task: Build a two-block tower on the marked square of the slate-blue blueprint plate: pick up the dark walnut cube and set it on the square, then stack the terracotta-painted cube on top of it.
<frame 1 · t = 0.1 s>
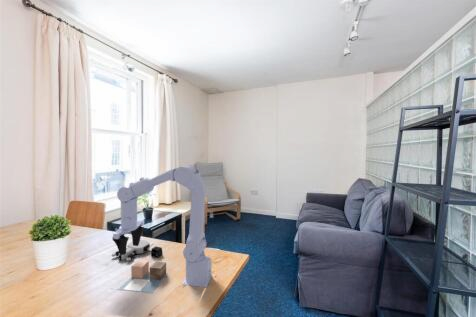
hand: (129, 249, 84), 10 cm above the table, tool pointing down, fingers open, 7 cm apart
robot toy: (133, 255, 101), on the table
walnut block: (158, 276, 83), resting on blueprint plate
blueprint plate: (144, 282, 80), on the table
terracotta block: (140, 274, 84), resting on blueprint plate
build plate: (156, 258, 99), on the table
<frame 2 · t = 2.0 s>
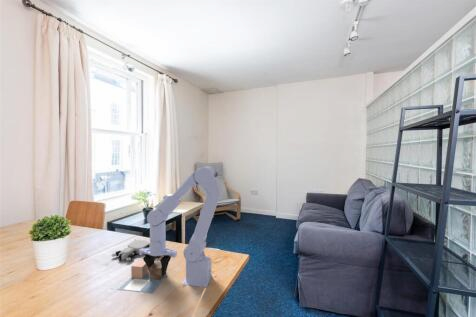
hand: (158, 273, 83), 2 cm above the table, tool pointing down, fingers closed on walnut block, 4 cm apart
walnut block: (158, 276, 83), resting on blueprint plate, touching gripper
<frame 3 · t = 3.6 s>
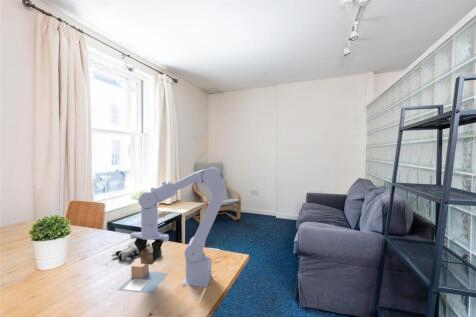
hand: (149, 258, 80), 9 cm above the table, tool pointing down, fingers closed on walnut block, 4 cm apart
walnut block: (149, 261, 80), point 8 cm above the table, touching gripper
when the fingers open (3 cm above the table, at t = 5.4 s): walnut block drops 1 cm, resting on blueprint plate.
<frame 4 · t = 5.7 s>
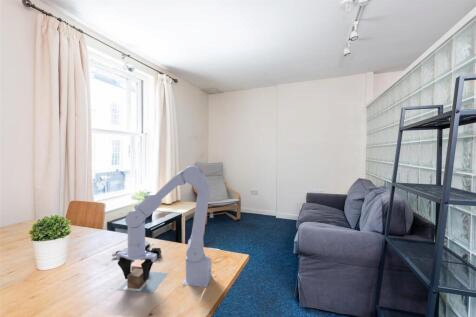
hand: (136, 278, 77), 3 cm above the table, tool pointing down, fingers open, 7 cm apart
walnut block: (137, 284, 77), point 1 cm above the table, touching blueprint plate
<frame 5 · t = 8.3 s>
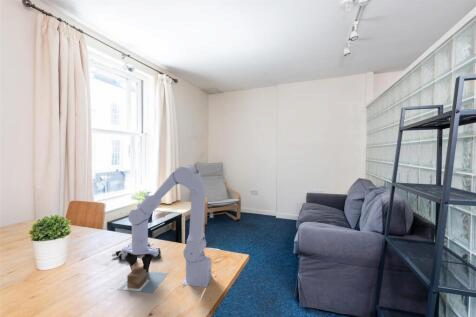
hand: (140, 271, 84), 2 cm above the table, tool pointing down, fingers closed on terracotta block, 4 cm apart
terracotta block: (140, 274, 84), resting on blueprint plate, touching gripper
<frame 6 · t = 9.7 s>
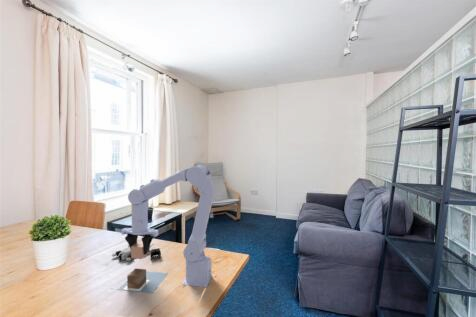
hand: (140, 252, 83), 9 cm above the table, tool pointing down, fingers closed on terracotta block, 4 cm apart
terracotta block: (140, 255, 83), point 8 cm above the table, touching gripper
when the fingers open (7 cm above the table, at t = 11.2 s): terracotta block drops 1 cm, resting on walnut block.
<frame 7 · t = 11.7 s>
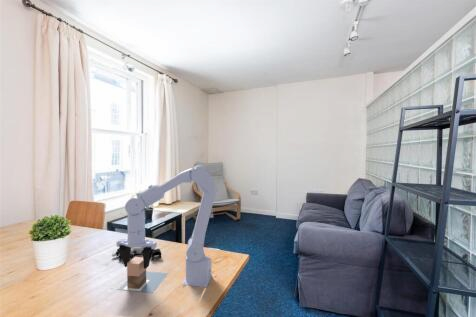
hand: (136, 266, 77), 7 cm above the table, tool pointing down, fingers open, 7 cm apart
walnut block: (137, 284, 77), point 1 cm above the table, touching blueprint plate, terracotta block
terracotta block: (136, 272, 77), point 5 cm above the table, touching walnut block
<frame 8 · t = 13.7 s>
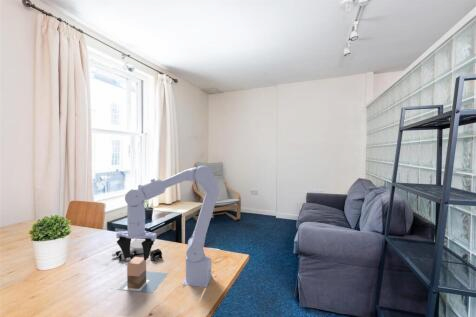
hand: (136, 258, 77), 10 cm above the table, tool pointing down, fingers open, 7 cm apart
at the end: walnut block 0.1 cm from the target spot, point 0.6 cm above the table; terracotta block 0.0 cm off-centre on the walnut block, point 4.5 cm above the walnut block's base; terracotta block tilted 0° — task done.
